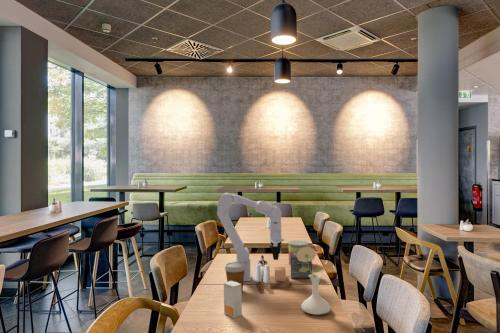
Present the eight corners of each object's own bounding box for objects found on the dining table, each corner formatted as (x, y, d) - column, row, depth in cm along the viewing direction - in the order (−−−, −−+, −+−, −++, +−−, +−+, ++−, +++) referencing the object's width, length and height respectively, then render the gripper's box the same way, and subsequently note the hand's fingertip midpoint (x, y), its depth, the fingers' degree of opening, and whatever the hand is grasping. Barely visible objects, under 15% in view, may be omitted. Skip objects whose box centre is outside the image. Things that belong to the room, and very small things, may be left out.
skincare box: (223, 313, 138) (223, 282, 138) (231, 310, 141) (231, 280, 141) (234, 318, 134) (233, 286, 134) (242, 314, 137) (242, 283, 137)
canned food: (289, 266, 200) (289, 245, 200) (288, 261, 211) (287, 240, 211) (309, 266, 200) (309, 244, 199) (307, 260, 211) (307, 240, 211)
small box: (311, 275, 184) (311, 254, 184) (312, 279, 178) (312, 258, 178) (290, 274, 185) (290, 254, 185) (290, 278, 179) (290, 257, 179)
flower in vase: (331, 307, 143) (330, 244, 143) (330, 319, 132) (329, 251, 132) (298, 304, 147) (297, 242, 146) (294, 315, 136) (293, 249, 135)
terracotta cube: (275, 281, 168) (274, 270, 168) (274, 277, 173) (274, 267, 173) (285, 281, 168) (285, 270, 168) (285, 277, 173) (285, 267, 173)
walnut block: (269, 289, 166) (269, 282, 166) (270, 282, 175) (270, 276, 175) (289, 289, 166) (289, 282, 165) (288, 282, 174) (288, 276, 174)
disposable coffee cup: (243, 295, 157) (243, 268, 157) (222, 294, 159) (222, 267, 159) (247, 288, 167) (247, 262, 166) (228, 287, 169) (227, 261, 168)
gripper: (283, 233, 172) (284, 261, 172) (283, 227, 186) (284, 254, 187) (268, 233, 173) (269, 261, 173) (270, 227, 187) (270, 253, 187)
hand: (276, 257), depth 180 cm, fingers open, 7 cm apart
